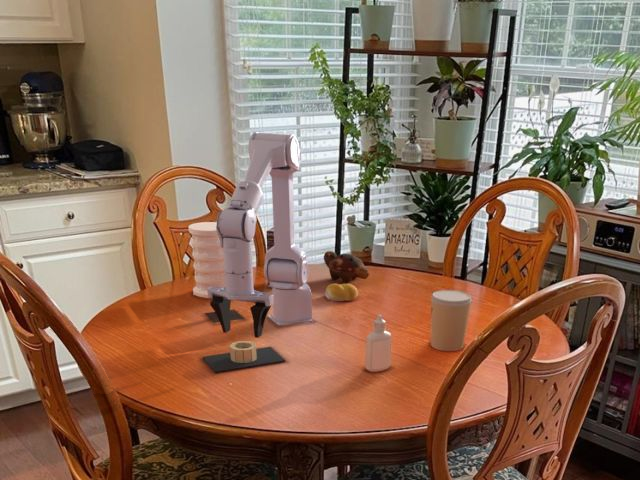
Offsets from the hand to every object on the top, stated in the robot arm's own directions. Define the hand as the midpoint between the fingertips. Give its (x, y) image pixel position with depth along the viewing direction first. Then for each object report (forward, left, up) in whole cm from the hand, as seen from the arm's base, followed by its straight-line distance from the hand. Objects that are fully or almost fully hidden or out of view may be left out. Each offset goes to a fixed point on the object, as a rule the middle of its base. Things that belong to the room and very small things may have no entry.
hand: (242, 333), depth 154 cm
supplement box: (-29, -51, -6) cm, 59 cm away
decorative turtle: (-49, -48, -6) cm, 69 cm away
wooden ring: (0, 0, -6) cm, 6 cm away
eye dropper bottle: (-25, +16, -6) cm, 30 cm away
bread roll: (-40, -33, -6) cm, 52 cm away
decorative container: (-9, -50, -6) cm, 51 cm away
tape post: (-5, -29, -6) cm, 30 cm away
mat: (0, 0, -6) cm, 6 cm away
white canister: (-47, +10, -6) cm, 48 cm away
